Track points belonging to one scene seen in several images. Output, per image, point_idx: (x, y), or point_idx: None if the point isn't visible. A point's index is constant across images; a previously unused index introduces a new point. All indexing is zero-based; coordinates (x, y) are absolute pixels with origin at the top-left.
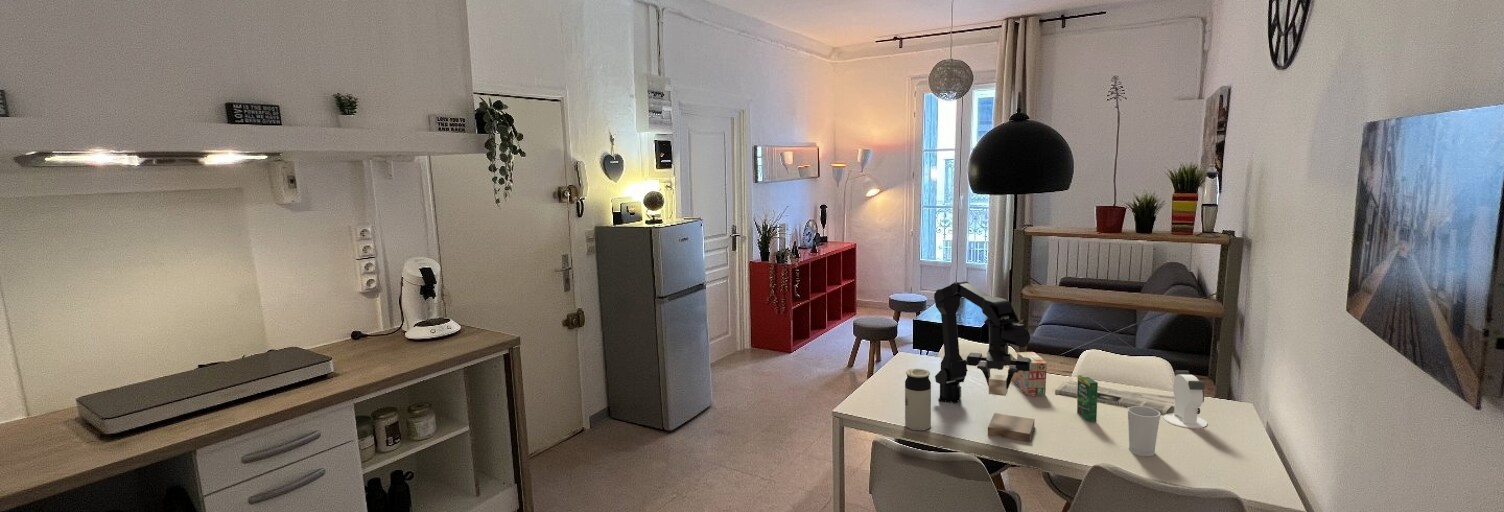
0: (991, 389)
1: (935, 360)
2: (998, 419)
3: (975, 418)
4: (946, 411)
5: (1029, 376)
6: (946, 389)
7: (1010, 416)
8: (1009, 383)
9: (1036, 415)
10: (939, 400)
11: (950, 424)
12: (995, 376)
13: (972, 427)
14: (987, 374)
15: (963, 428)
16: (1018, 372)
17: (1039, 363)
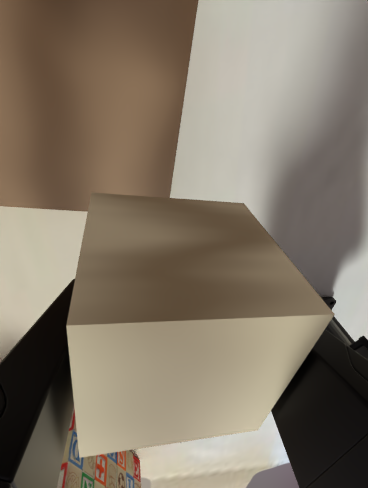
0: (237, 225)
1: (284, 454)
2: (142, 139)
3: (236, 198)
4: (330, 228)
5: (63, 477)
6: (336, 332)
7: (86, 199)
8: (34, 326)
9: (8, 296)
10: (332, 297)
11: (352, 96)
12: (226, 400)
13: (260, 86)
14: (362, 390)
15: (305, 58)
16: (111, 478)
17: None
